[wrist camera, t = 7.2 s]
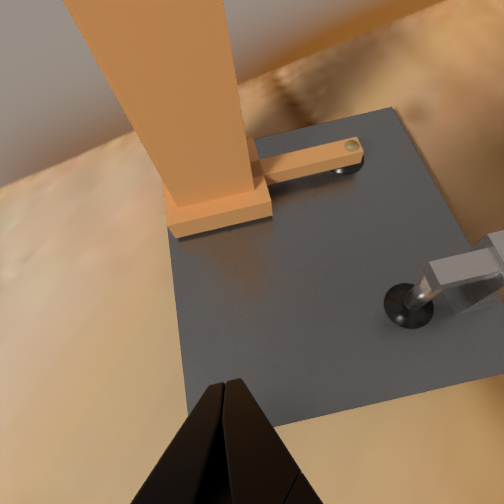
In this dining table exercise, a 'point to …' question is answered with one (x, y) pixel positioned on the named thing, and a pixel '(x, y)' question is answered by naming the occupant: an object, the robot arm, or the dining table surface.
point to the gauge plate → (341, 285)
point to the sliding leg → (192, 109)
